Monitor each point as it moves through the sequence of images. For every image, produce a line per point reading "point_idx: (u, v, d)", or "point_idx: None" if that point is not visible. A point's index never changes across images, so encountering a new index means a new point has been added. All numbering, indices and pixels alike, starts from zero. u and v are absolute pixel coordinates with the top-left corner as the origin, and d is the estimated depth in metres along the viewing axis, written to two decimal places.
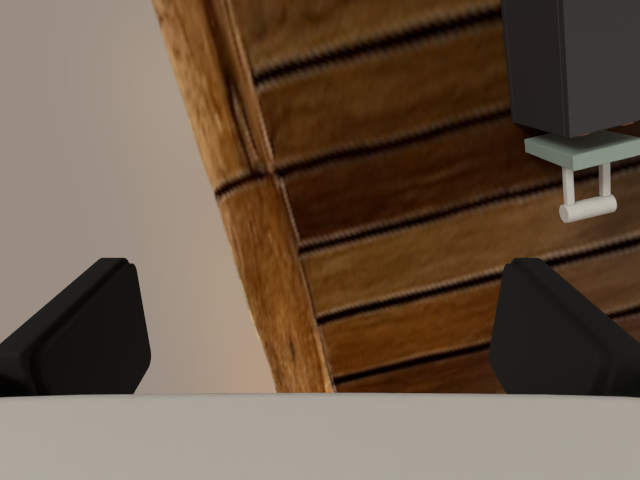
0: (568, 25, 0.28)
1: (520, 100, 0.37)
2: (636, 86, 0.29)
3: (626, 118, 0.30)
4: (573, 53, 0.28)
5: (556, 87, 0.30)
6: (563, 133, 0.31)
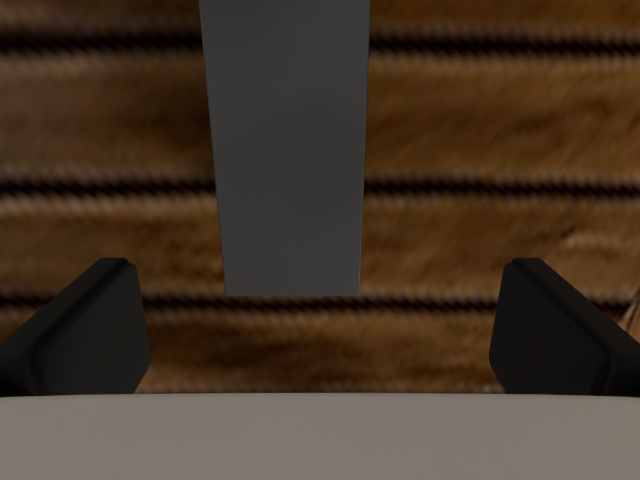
0: None
1: None
2: None
3: None
4: None
5: None
6: None
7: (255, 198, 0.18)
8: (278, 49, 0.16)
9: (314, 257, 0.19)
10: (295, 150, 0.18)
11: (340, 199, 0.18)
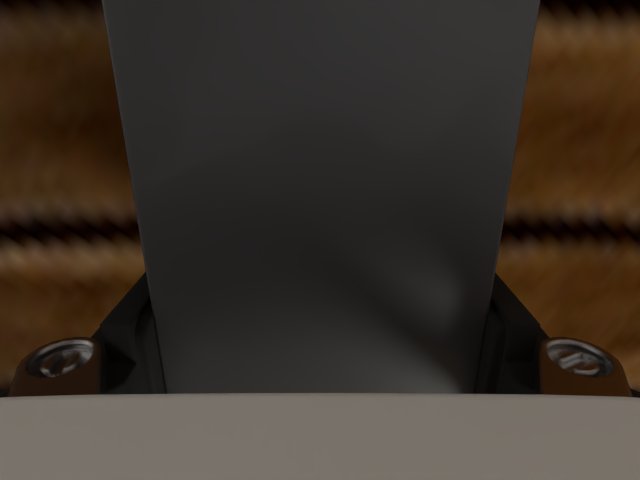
0: None
1: None
2: None
3: None
4: None
5: None
6: None
7: (241, 311, 0.08)
8: None
9: None
10: (337, 205, 0.07)
11: (436, 313, 0.08)
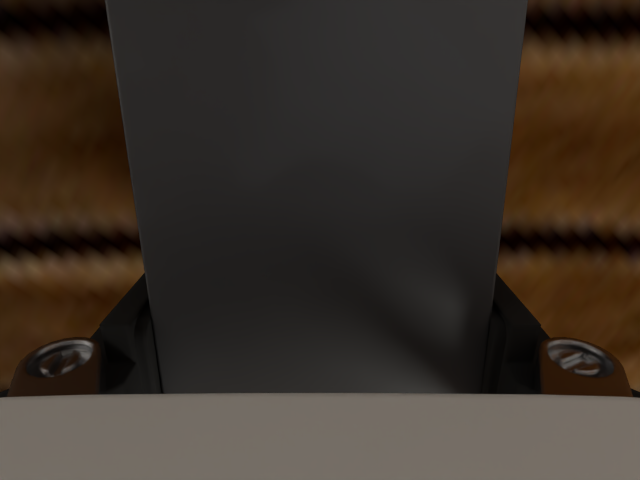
0: None
1: None
2: None
3: None
4: None
5: None
6: None
7: (240, 314, 0.08)
8: None
9: None
10: (335, 203, 0.07)
11: (438, 313, 0.08)
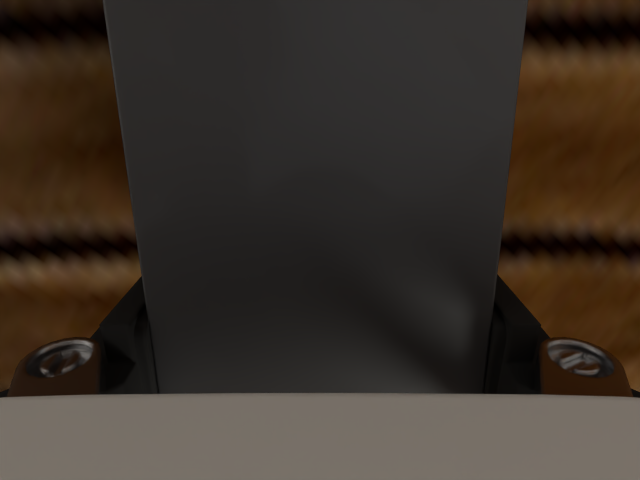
0: None
1: None
2: None
3: None
4: None
5: None
6: None
7: (238, 316, 0.08)
8: None
9: None
10: (334, 204, 0.07)
11: (438, 317, 0.08)
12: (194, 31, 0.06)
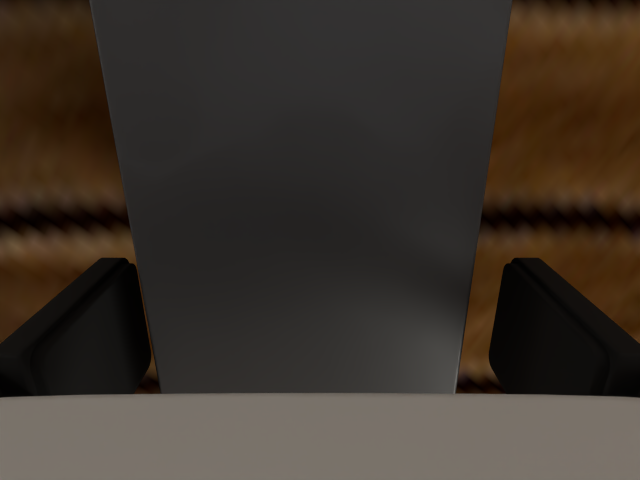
0: None
1: None
2: None
3: None
4: None
5: None
6: None
7: (229, 291, 0.08)
8: None
9: None
10: (320, 185, 0.07)
11: (419, 292, 0.08)
12: (179, 11, 0.06)
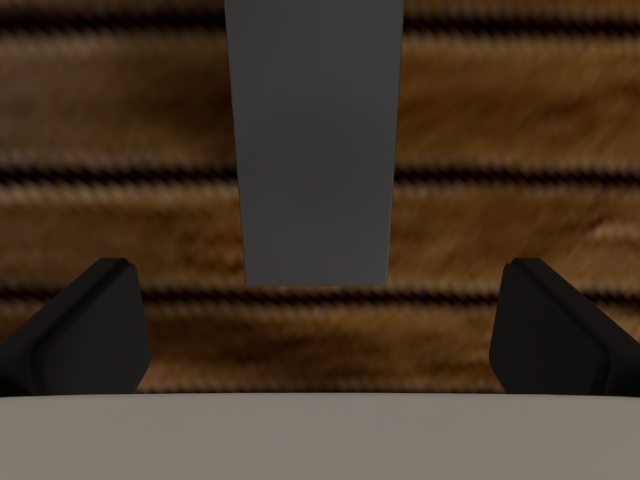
0: None
1: None
2: None
3: None
4: None
5: None
6: None
7: (279, 181, 0.17)
8: (306, 19, 0.15)
9: (340, 244, 0.18)
10: (322, 129, 0.16)
11: (369, 182, 0.17)
12: (264, 54, 0.15)
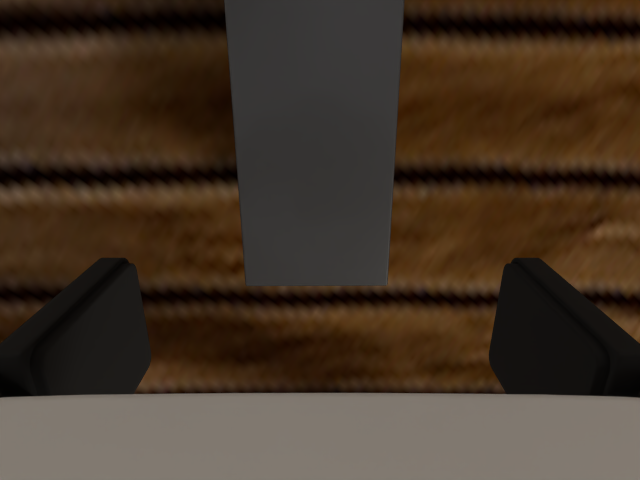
0: None
1: None
2: None
3: None
4: None
5: None
6: None
7: (279, 181, 0.17)
8: (306, 19, 0.15)
9: (340, 244, 0.18)
10: (322, 129, 0.16)
11: (369, 182, 0.17)
12: (264, 54, 0.15)
